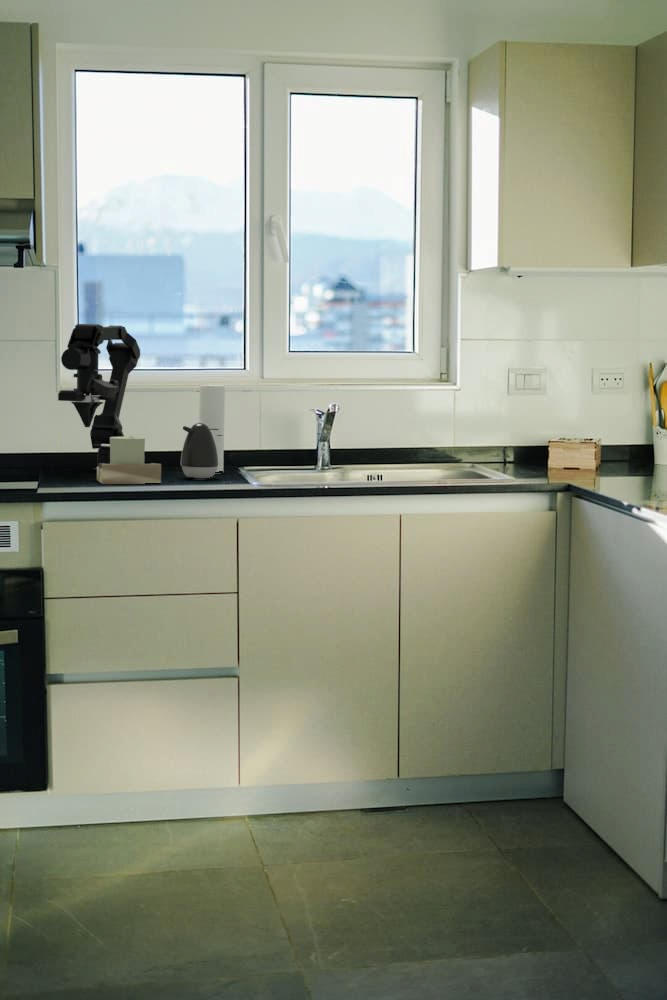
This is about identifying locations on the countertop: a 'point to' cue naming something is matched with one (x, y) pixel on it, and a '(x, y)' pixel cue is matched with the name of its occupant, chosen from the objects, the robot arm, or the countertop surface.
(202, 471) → the pump dispenser
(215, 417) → the cylindrical container
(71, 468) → the countertop surface
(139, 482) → the frame
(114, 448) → the can
